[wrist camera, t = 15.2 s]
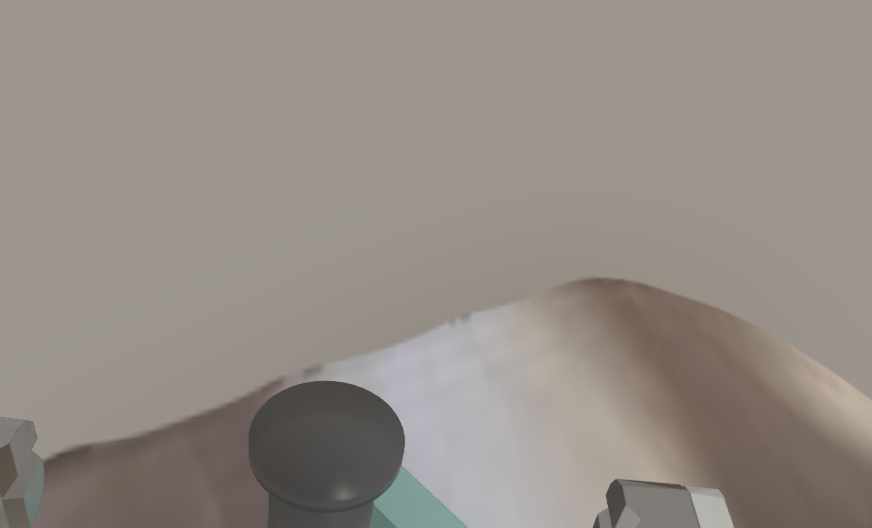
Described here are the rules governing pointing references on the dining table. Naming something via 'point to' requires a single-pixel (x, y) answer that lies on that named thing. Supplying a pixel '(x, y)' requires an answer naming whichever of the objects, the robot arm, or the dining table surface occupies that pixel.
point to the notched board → (411, 507)
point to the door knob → (325, 454)
